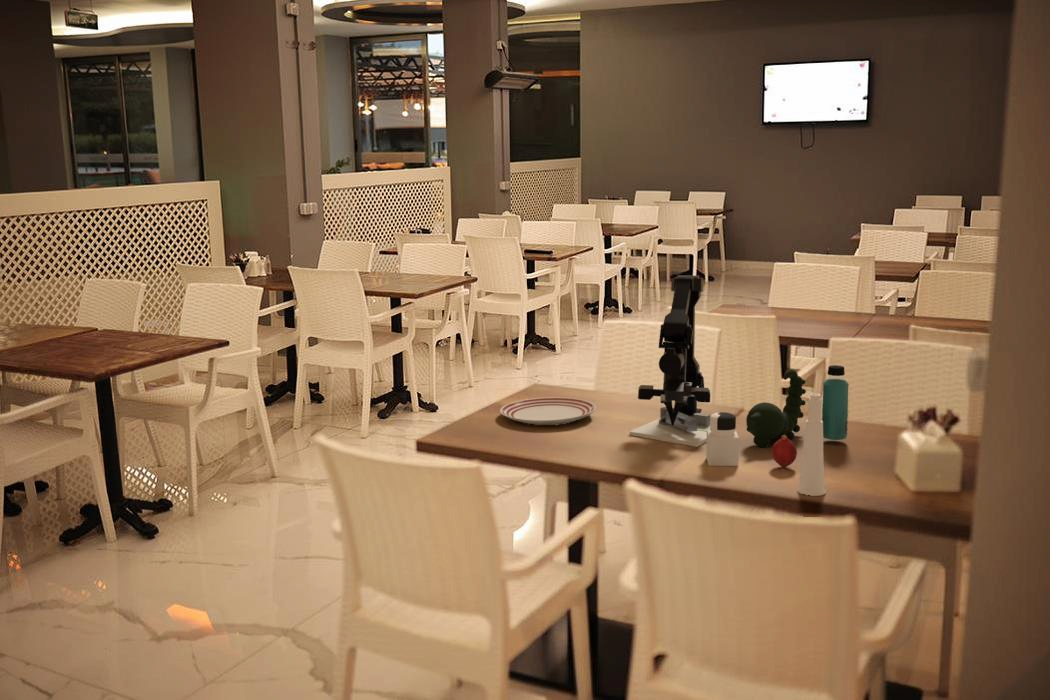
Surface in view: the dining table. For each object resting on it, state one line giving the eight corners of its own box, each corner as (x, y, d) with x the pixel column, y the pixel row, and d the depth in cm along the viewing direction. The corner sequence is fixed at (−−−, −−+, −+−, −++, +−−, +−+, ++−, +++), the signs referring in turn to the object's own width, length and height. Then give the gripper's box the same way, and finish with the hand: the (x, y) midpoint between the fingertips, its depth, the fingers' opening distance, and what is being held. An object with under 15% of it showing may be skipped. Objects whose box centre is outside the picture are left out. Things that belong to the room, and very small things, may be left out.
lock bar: (657, 419, 278) (658, 407, 278) (669, 417, 280) (669, 406, 279) (686, 432, 265) (686, 420, 264) (698, 430, 266) (698, 418, 266)
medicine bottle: (735, 457, 248) (736, 410, 246) (738, 466, 241) (739, 417, 239) (706, 457, 249) (706, 410, 247) (708, 466, 242) (709, 417, 240)
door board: (663, 420, 284) (663, 406, 283) (728, 431, 272) (728, 416, 271) (629, 435, 270) (629, 420, 269) (696, 446, 258) (697, 431, 257)
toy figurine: (779, 434, 274) (731, 447, 255) (784, 365, 272) (736, 372, 253) (811, 440, 268) (765, 453, 249) (817, 369, 265) (770, 377, 247)
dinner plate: (487, 427, 281) (486, 416, 280) (516, 404, 306) (516, 393, 306) (583, 433, 273) (583, 422, 272) (605, 409, 298) (605, 398, 298)
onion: (777, 462, 244) (778, 430, 242) (800, 466, 240) (801, 434, 239) (766, 468, 240) (767, 435, 238) (789, 472, 236) (790, 439, 234)
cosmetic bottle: (813, 498, 219) (817, 399, 214) (791, 491, 223) (794, 394, 219) (831, 492, 222) (835, 394, 218) (809, 485, 227) (812, 389, 223)
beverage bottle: (848, 446, 256) (851, 369, 252) (821, 445, 257) (824, 368, 254) (845, 439, 262) (849, 363, 259) (819, 438, 264) (822, 363, 260)
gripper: (638, 372, 259) (636, 431, 262) (712, 375, 257) (709, 435, 260) (639, 363, 270) (637, 420, 273) (710, 366, 267) (707, 424, 270)
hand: (672, 425), depth 269 cm, fingers closed
